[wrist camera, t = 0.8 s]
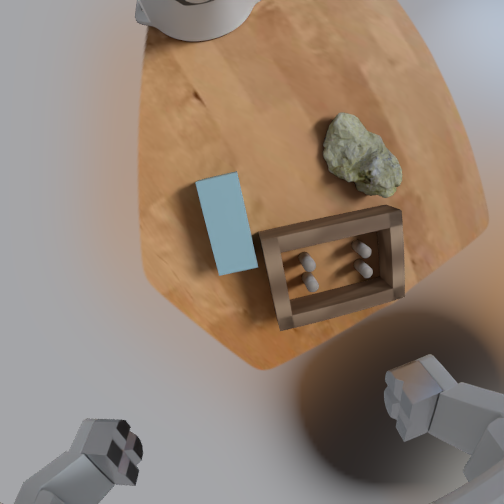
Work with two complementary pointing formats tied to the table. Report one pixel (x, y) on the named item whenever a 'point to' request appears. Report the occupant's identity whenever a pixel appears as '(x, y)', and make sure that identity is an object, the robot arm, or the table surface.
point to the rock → (361, 157)
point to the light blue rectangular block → (227, 223)
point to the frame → (360, 293)
